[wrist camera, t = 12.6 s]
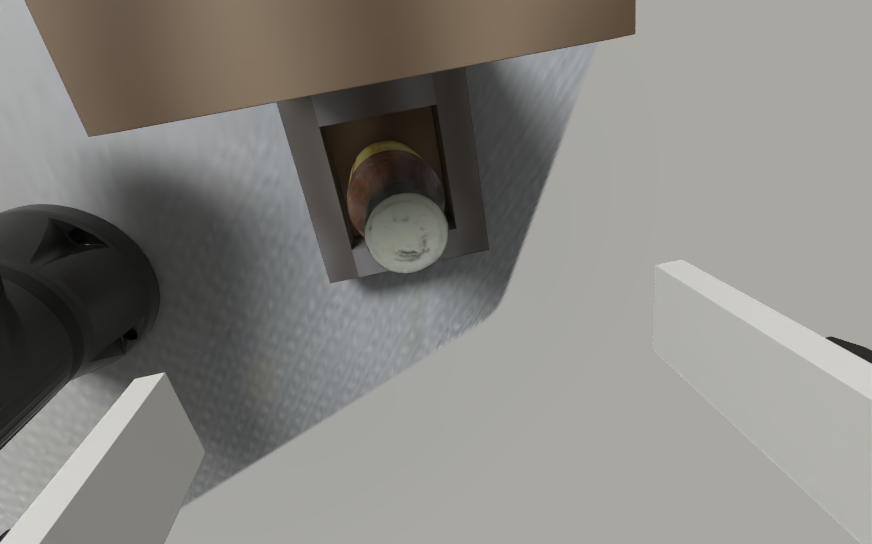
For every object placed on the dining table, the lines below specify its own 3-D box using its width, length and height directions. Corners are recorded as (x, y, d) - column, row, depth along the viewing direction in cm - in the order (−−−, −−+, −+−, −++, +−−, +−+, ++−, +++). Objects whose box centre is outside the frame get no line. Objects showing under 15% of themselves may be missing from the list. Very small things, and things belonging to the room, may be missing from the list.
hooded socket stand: (329, 263, 43) (266, 516, 17) (261, 30, 35) (-36, -128, 9) (481, 231, 43) (632, 429, 18) (449, -4, 35) (636, -233, 10)
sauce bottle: (401, 221, 41) (425, 326, 23) (339, 187, 39) (311, 273, 21) (437, 158, 39) (495, 217, 21) (374, 120, 37) (377, 148, 19)
